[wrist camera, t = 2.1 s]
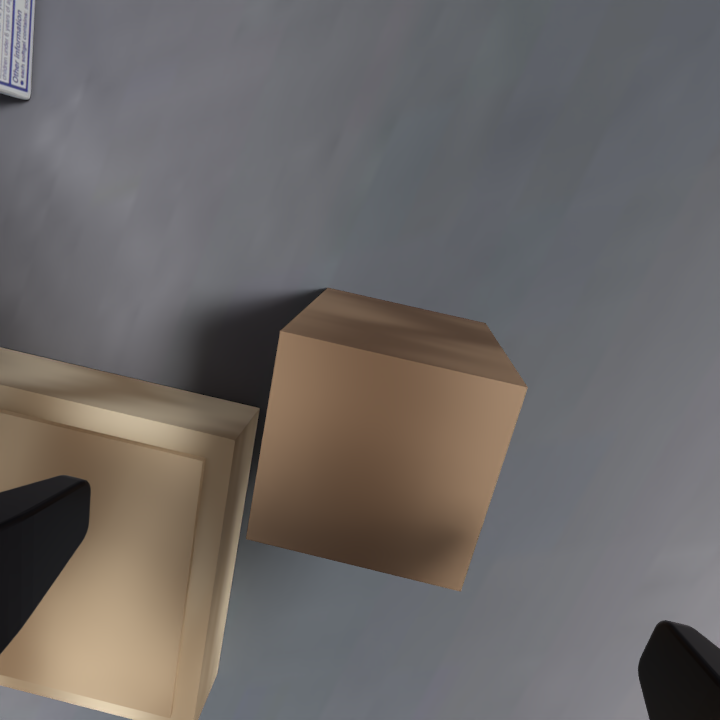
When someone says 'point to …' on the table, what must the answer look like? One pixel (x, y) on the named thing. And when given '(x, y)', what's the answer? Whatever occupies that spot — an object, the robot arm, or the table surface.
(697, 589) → the table surface
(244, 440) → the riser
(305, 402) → the walnut block
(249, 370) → the table surface
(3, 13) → the medicine box
